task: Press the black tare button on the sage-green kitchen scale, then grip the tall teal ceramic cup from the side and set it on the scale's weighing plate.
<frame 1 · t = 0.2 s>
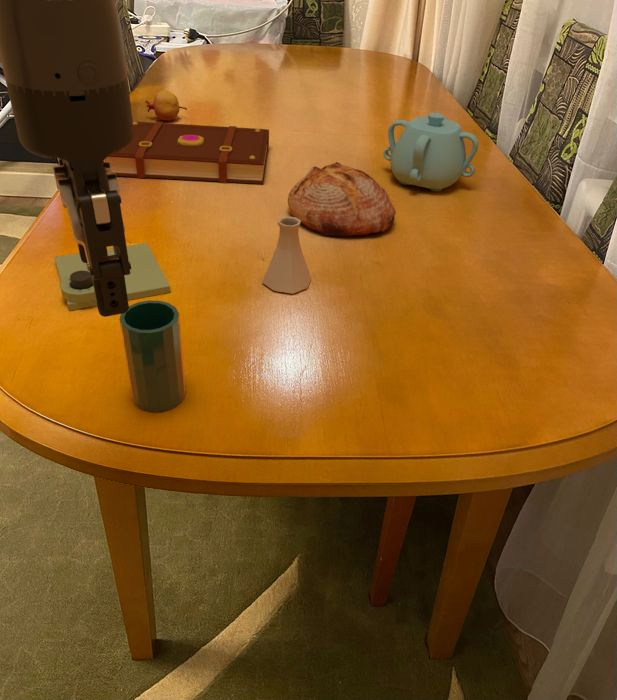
hand: (103, 285, 49), 21 cm above the table, tool pointing down, fingers open, 8 cm apart
bread: (339, 220, 110), on the table
fruit: (167, 120, 150), on the table
book: (192, 161, 129), on the table
scale: (111, 277, 90), on the table
flask: (286, 283, 92), on the table
tare button: (81, 280, 83), point 3 cm above the table, slide at 0.2 cm
decorative pot: (424, 181, 128), on the table
cup: (159, 394, 70), on the table
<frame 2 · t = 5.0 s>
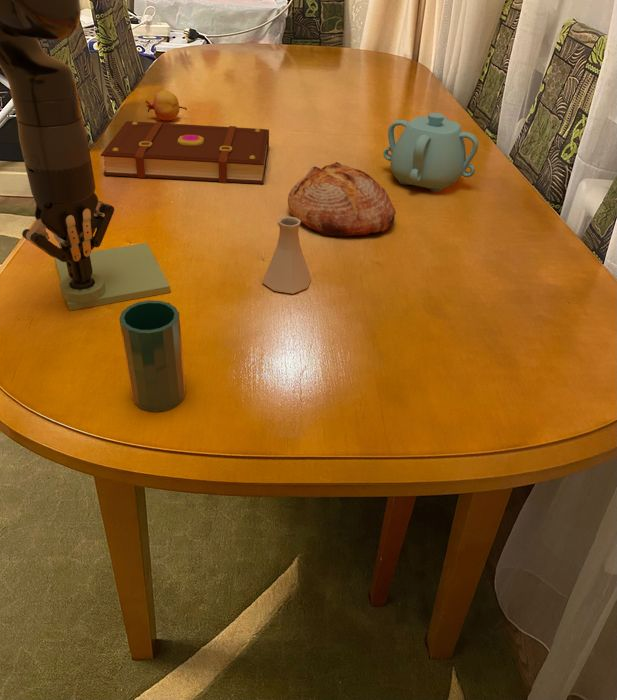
hand: (81, 280, 83), 3 cm above the table, tool pointing down, fingers closed
tare button: (82, 285, 84), point 2 cm above the table, slide at -0.6 cm, touching gripper
everything else where it was.
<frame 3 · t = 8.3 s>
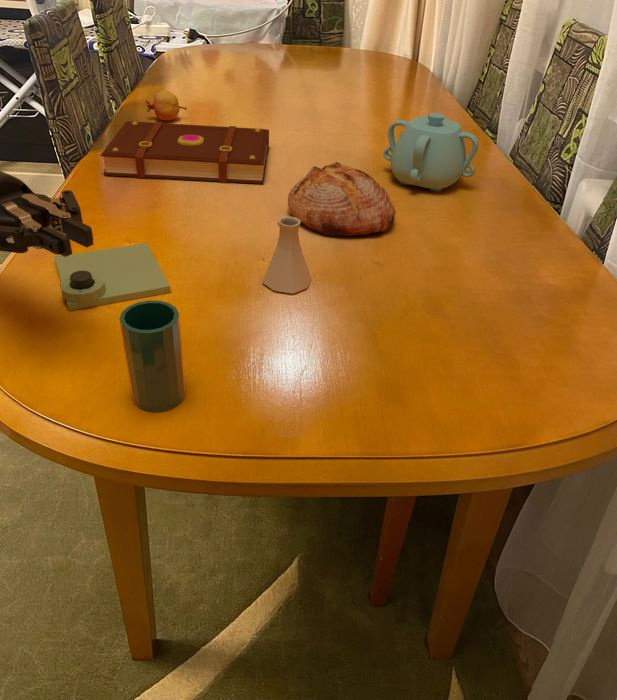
hand: (78, 242, 65), 16 cm above the table, tool horizontal, fingers closed
tare button: (81, 280, 83), point 3 cm above the table, slide at 0.1 cm
everything else where it was.
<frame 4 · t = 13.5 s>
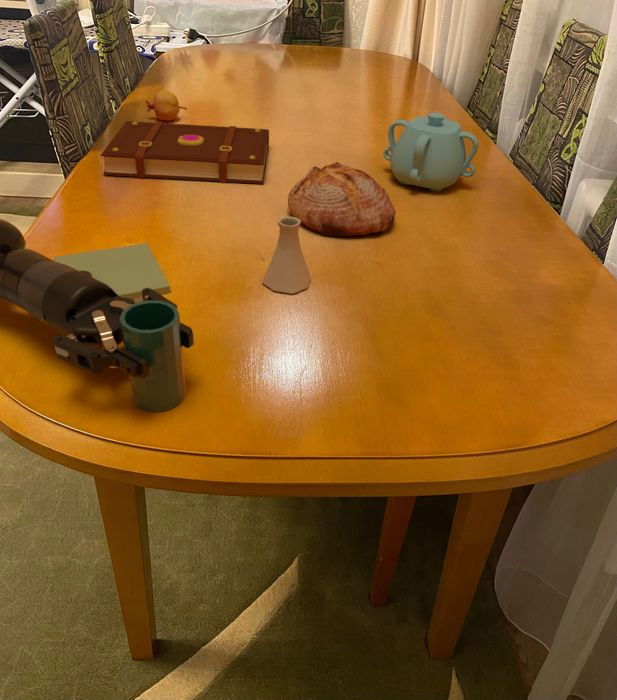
hand: (168, 354, 65), 7 cm above the table, tool horizontal, fingers closed on cup, 6 cm apart
cup: (159, 394, 70), on the table, touching gripper
everything else where it was.
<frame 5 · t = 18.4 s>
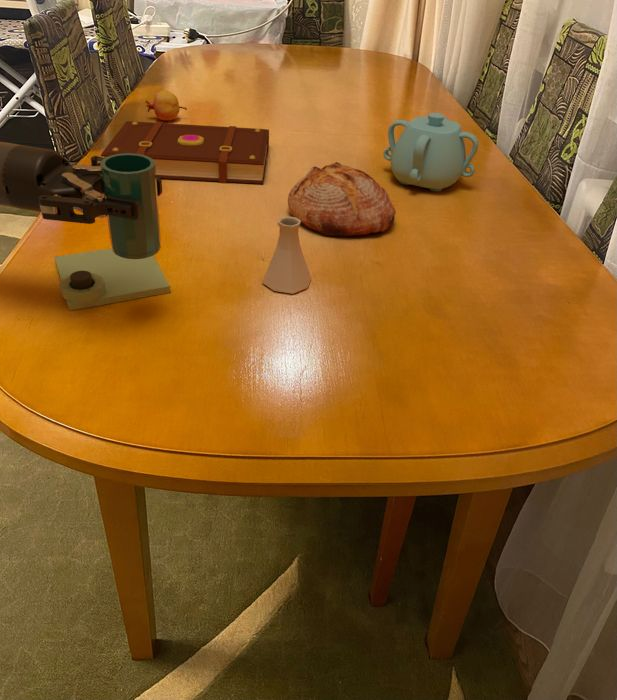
hand: (149, 198, 72), 17 cm above the table, tool horizontal, fingers closed on cup, 6 cm apart
cup: (136, 247, 77), point 10 cm above the table, touching gripper
everything else where it was.
when the fingers open (8 cm above the table, at t = 23.4 s): cup stays where it is, resting on scale.
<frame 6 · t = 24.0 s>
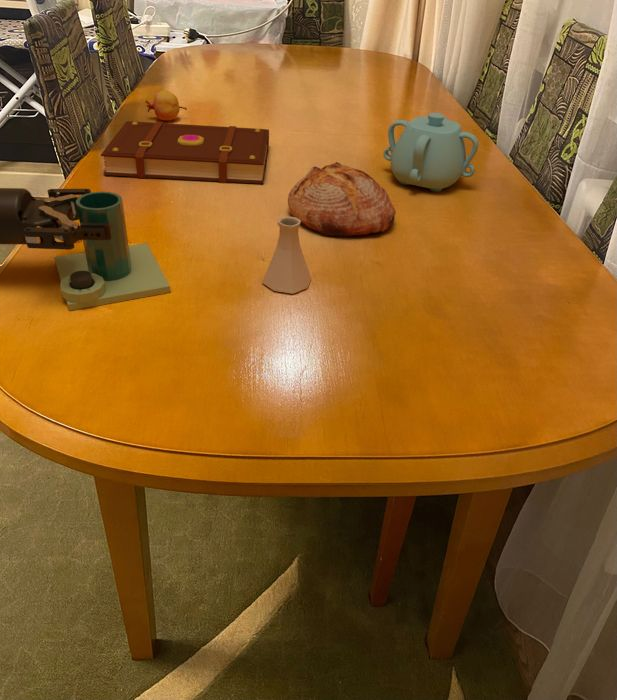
hand: (115, 217, 84), 10 cm above the table, tool horizontal, fingers open, 8 cm apart
cup: (110, 270, 89), point 1 cm above the table, touching scale
everything else where it was.
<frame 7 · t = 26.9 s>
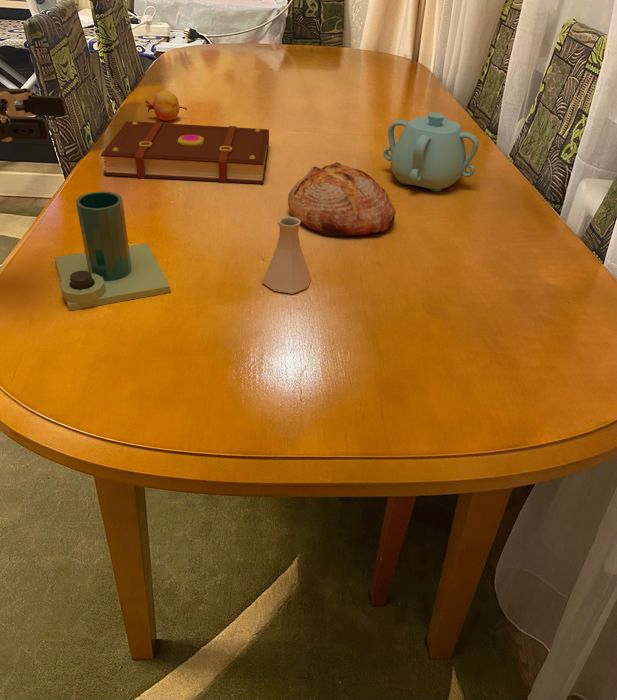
hand: (56, 117, 71), 24 cm above the table, tool horizontal, fingers open, 8 cm apart
nothing on the table moved.
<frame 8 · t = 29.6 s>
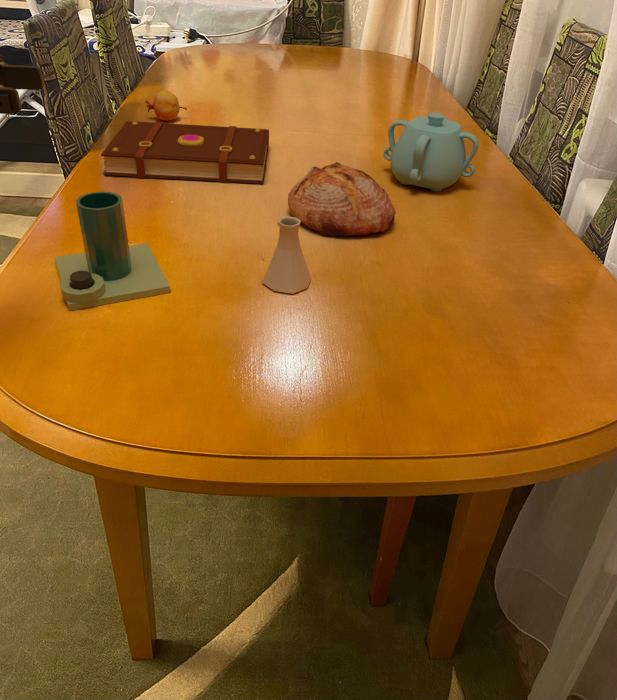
hand: (30, 89, 60), 30 cm above the table, tool horizontal, fingers open, 8 cm apart
nothing on the table moved.
at the end: tare button pushed in 0.7 cm at the most during the clip, back to where it started at the end; cup inside the target area on the scale (0.1 cm from its centre), point 1.1 cm above the scale's base; cup touching scale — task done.
